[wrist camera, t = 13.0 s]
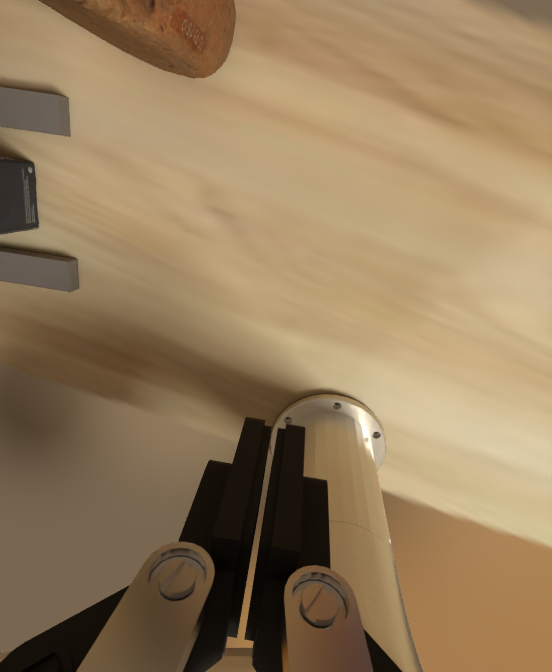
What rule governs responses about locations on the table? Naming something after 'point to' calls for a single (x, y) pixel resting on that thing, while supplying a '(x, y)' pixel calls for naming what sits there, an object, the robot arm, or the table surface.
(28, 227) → the small box
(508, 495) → the table surface
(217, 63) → the block
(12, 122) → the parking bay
